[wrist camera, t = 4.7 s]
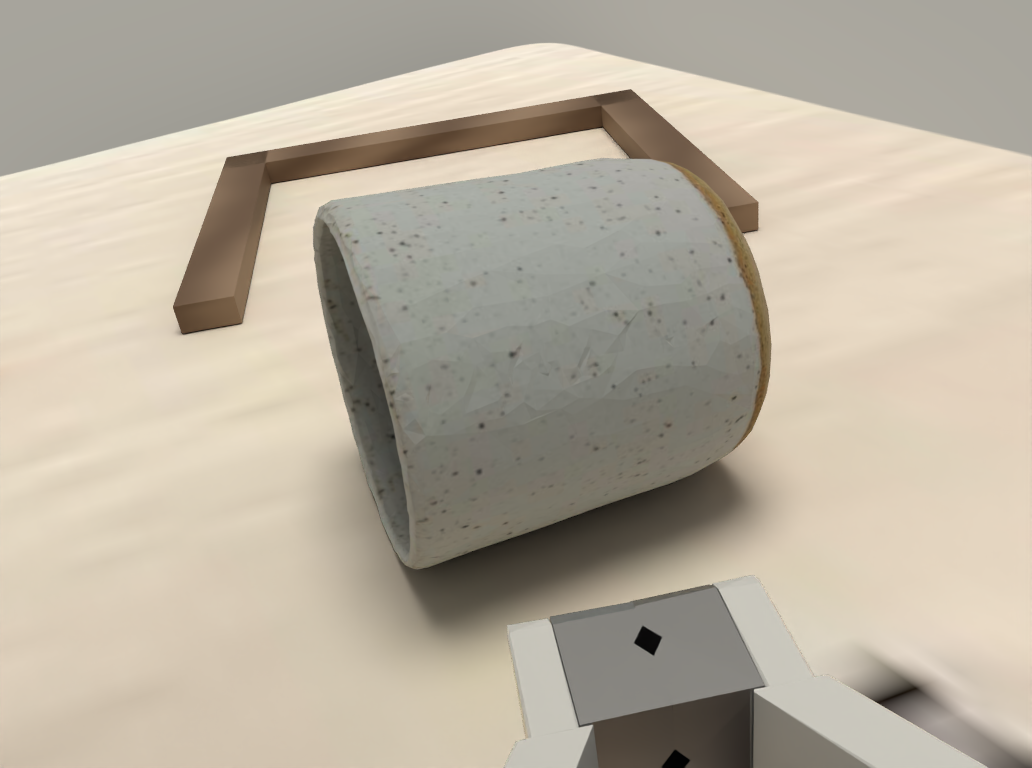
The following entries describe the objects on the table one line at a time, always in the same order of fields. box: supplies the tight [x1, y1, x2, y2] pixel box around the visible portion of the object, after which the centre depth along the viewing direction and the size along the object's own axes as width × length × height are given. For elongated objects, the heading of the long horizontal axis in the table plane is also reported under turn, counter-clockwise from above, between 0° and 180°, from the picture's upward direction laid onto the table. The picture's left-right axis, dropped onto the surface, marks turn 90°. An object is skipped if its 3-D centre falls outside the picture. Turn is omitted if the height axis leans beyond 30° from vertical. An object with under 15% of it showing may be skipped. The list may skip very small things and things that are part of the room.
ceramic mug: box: [313, 158, 771, 570], centre depth 22 cm, size 11×8×8 cm
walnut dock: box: [173, 89, 758, 334], centre depth 40 cm, size 20×17×1 cm
